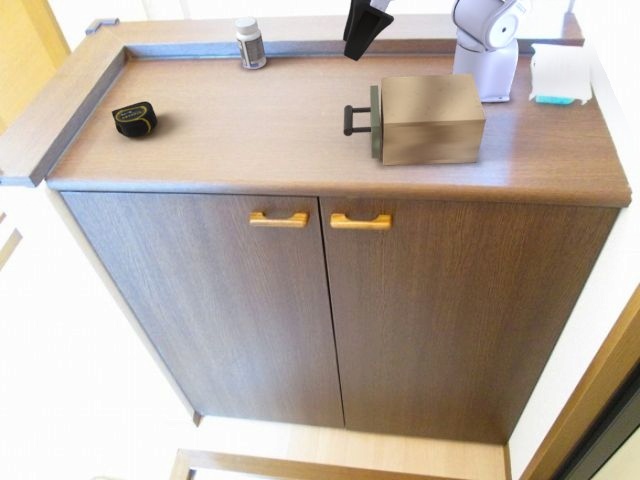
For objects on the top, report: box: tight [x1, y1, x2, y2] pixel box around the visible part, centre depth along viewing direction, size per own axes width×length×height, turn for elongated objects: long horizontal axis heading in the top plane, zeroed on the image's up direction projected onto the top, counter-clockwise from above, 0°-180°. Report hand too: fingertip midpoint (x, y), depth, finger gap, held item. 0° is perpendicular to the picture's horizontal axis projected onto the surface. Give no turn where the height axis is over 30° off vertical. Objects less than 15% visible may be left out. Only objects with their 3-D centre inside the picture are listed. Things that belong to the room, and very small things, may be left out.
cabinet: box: [380, 73, 487, 166], centre depth 69 cm, size 14×12×8 cm
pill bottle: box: [235, 16, 267, 70], centre depth 89 cm, size 5×5×8 cm
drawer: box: [342, 84, 381, 159], centre depth 70 cm, size 17×10×6 cm, turn 87°
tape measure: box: [111, 101, 158, 138], centre depth 79 cm, size 7×7×4 cm
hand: (349, 49), depth 66 cm, fingers open, 7 cm apart
